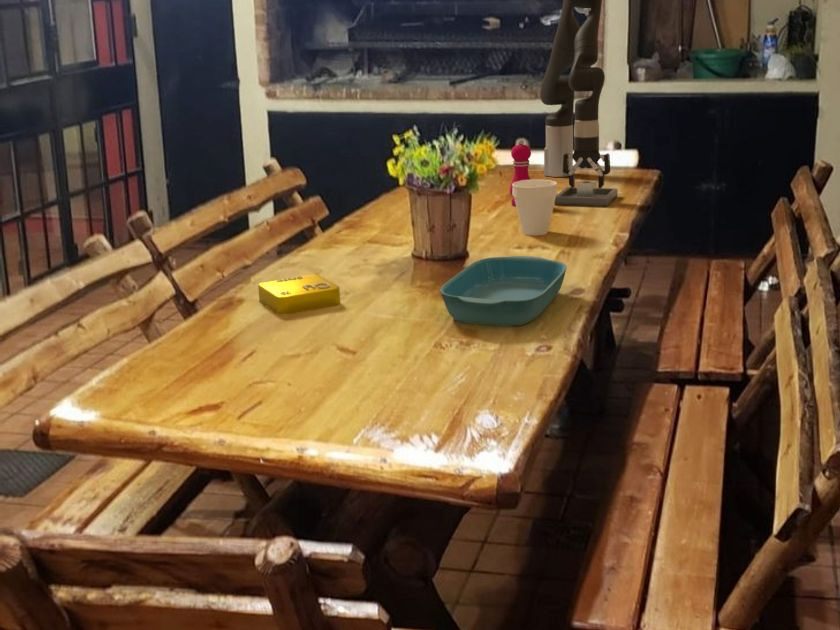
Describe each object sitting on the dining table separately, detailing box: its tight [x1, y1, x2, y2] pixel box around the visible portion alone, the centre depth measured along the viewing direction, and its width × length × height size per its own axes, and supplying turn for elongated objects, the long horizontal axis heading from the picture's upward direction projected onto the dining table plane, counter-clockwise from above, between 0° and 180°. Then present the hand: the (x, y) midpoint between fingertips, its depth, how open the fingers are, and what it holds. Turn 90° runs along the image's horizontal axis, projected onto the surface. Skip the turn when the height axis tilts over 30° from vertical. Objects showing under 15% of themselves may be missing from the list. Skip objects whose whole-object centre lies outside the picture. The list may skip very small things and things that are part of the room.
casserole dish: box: [439, 255, 567, 327], centre depth 250 cm, size 37×22×7 cm, turn 159°
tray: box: [554, 186, 619, 208], centre depth 356 cm, size 16×16×2 cm
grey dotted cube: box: [576, 179, 597, 197], centre depth 355 cm, size 5×5×5 cm
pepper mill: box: [509, 138, 532, 207], centre depth 352 cm, size 7×7×20 cm
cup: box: [511, 178, 558, 236], centre depth 316 cm, size 12×12×14 cm
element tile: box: [258, 273, 341, 315], centre depth 260 cm, size 15×15×5 cm
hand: (586, 187), depth 355 cm, fingers open, 8 cm apart
